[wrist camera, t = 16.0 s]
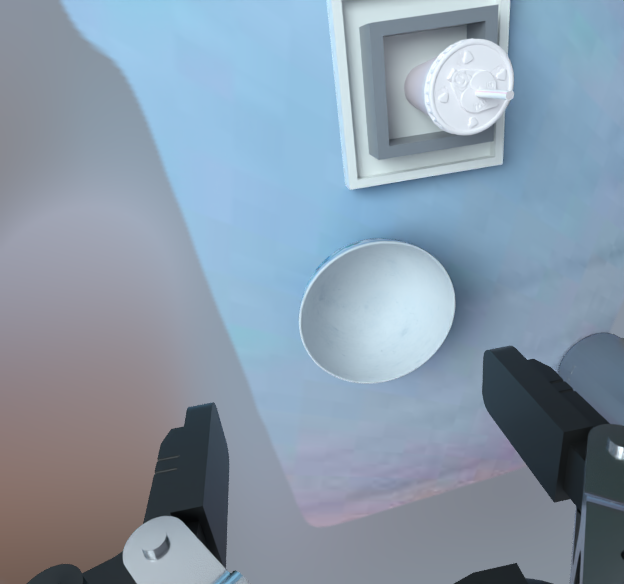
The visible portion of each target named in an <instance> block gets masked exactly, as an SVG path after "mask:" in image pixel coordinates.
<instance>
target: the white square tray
mask: <svg viewBox="0 0 624 584" xmlns="http://www.w3.org/2000/svg"><path fill="white" fill-rule="evenodd" d="M326 1H327V10H328V20H329V30H330V40H331V49H332V59H333V69H334V79H335V89H336V98H337V108H338V118H339V128H340V138H341V147H342V157H343V167H344V177H345V185H346V186H347V187H348V188H349V189H350V190H352V189H358V188H364V187H370V186H376V185H382V184H388V183H394V182H400V181H406V180H412V179H418V178H424V177H430V176H436V175H442V174H448V173H454V172H460V171H466V170H472V169H478V168H484V167H490V166H496V165H501V164H503V147H504V125H505V111H504V113H503V114H502V115H501V117H500V118H499V119H498V120H497V121H496V122H495V123H494V124H493V125H492V126H490V127H489V128H487V129H486V130H484V131H482V132H479V133H477V134H473V135H456V134H450V133H448V132H446V131H443V130H441V129H440V128H439V127H438V126H437V125H436V124H434V122H433V121H432V119H431V118H430V117H429V116H428V115H426V114H425V113H423V112H422V111H420V110H419V109H417V108H415V107H414V106H412V105H411V104H410V103H409V102H408V100H407V99H406V96H405V93H404V84H405V80H406V77H407V75H408V74H409V72H410V71H411V70H412V69H413V68H414V67H416V66H418V65H420V64H422V63H424V62H426V61H428V60H430V59H432V58H435V57H437V56H439V54H440V53H442V52H443V51H444V50H445V49H446V48H447V47H449V46H450V45H452V44H454V43H456V42H458V41H460V40H466V39H471V38H473V39H485V40H489V41H491V42H493V43H495V44H497V45H498V46H500V47H501V48H502V49H503V50H504V51H505V53H506V54H507V56H508V39H509V17H510V0H326Z"/></svg>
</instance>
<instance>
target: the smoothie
mask: <svg viewBox="0 0 624 584" xmlns="http://www.w3.org/2000/svg"><path fill="white" fill-rule="evenodd" d="M513 86H514V74H513V68H512V64H511V62H510V59H509V57H508V56H507V54H506V53H505V51H504V50H503V49H502V48H501V47H500V46H498V45H497V44H495V43H493V42H491V41H489V40H485V39H473V38H471V39H466V40H460V41H458V42H456V43H454V44H452V45H450V46H449V47H447V48H446V49H445V50H444V51H443V52H442V53H440V54H439V56H437V57H435V58H432V59H430V60H428V61H426V62H424V63H422V64H420V65H418V66H416V67H414V68H413V69H412V70H411V71H410V72H409V74H408V75H407V77H406V80H405V84H404V93H405V96H406V99H407V100H408V102H409V103H410V104H411V105H412V106H414V107H415V108H417V109H419V110H420V111H422V112H423V113H425V114H426V115H428V116H429V117H430V118H431V119H432V121H433V122H434V124H436V125H437V126H438V127H439V128H440V129H441V130H443V131H446V132H448V133H450V134H456V135H473V134H477V133H479V132H482V131H484V130H486V129H487V128H489V127H490V126H492V125H493V124H494V123H495V122H496V121H497V120H498V119H499V118H500V117H501V115H502V114H503V113H504V111H505V109H506V108H507V106H508V104H509V101H510V100H511V99H512V98H513V97H514V92H513Z"/></svg>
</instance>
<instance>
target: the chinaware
mask: <svg viewBox="0 0 624 584" xmlns="http://www.w3.org/2000/svg"><path fill="white" fill-rule="evenodd" d="M454 314H455V292H454V288H453V284H452V281H451V279H450V277H449V275H448V273H447V271H446V270H445V268H444V267H443V266H442V264H441V263H440V262H439V261H438V260H437V259H436V258H435V257H433V256H432V255H431V254H430V253H428V252H427V251H425V250H423V249H421V248H419V247H417V246H415V245H412V244H410V243H407V242H403V241H399V240H394V239H385V238H375V239H366V240H362V241H358V242H354V243H352V244H349V245H347V246H345V247H343V248H341V249H339V250H337V251H336V252H334V253H333V254H332V255H330V256H329V257H328V258H327V259H326V260H324V261H323V262H322V263H321V265H320V266H319V267H318V268H317V269H316V271H315V272H314V273H313V275H312V277H311V278H310V280H309V282H308V284H307V286H306V288H305V291H304V294H303V297H302V301H301V305H300V312H299V329H300V335H301V339H302V342H303V344H304V347H305V349H306V351H307V352H308V354H309V356H310V357H311V358H312V359H313V361H314V362H315V363H316V364H317V365H318V366H319V367H320V368H322V369H323V370H324V371H326V372H327V373H329V374H331V375H332V376H334V377H337V378H339V379H342V380H345V381H349V382H354V383H364V384H369V383H380V382H386V381H390V380H393V379H396V378H399V377H402V376H404V375H406V374H408V373H410V372H412V371H414V370H415V369H417V368H418V367H420V366H421V365H423V364H424V363H425V362H426V361H427V360H429V359H430V358H431V357H432V356H433V355H434V354H435V353H436V351H437V350H438V349H439V348H440V346H441V345H442V344H443V342H444V340H445V339H446V337H447V335H448V333H449V331H450V328H451V326H452V323H453V319H454Z"/></svg>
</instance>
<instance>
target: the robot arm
mask: <svg viewBox="0 0 624 584" xmlns="http://www.w3.org/2000/svg"><path fill="white" fill-rule="evenodd" d="M482 394H483V400H484V404H485V406H486V409H487V411H488V412H489V414H490V415H491V417H492V418H493V419H494V421H495V422H496V424H497V425H498V426H499V428H500V429H501V430H502V432H503V433H504V434H505V436H506V437H507V439H508V440H509V441H510V443H511V444H512V445H513V447H514V448H515V450H516V451H517V452H518V454H519V455H520V456H521V458H522V459H523V461H524V462H525V463H526V465H527V466H528V467H529V469H530V470H531V471H532V473H533V474H534V476H535V477H536V478H537V480H538V481H539V482H540V484H541V485H542V487H543V488H544V489H545V491H546V492H547V493H548V495H549V496H550V497H551V499H552V500H553V502H558V501H563V500H568V499H571V500H572V501H573V503H574V504H575V505H576V511H575V520H574V532H573V547H572V560H571V573H570V584H624V338H620V337H618V336H616V335H614V334H610V333H600V334H594V335H592V336H589V337H586V338H585V339H583V340H581V341H579V342H578V343H577V344H575V345H574V346H573V347H572V348H571V349H570V350H569V351H568V352H567V354H566V355H565V357H564V358H563V360H562V362H561V364H560V368H559V375H558V374H557V373H556V372H555V371H554V370H553V369H552V368H551V367H549V366H547V365H545V364H543V363H541V362H539V361H537V360H535V359H530V360H527V359H526V358H525V357H524V356H523V355H522V354H521V353H520V352H519V351H518V350H517V349H516V348H515V347H513V346H506V347H501V348H496V349H491V350H486V351H485V353H484V357H483V386H482ZM228 482H229V454H228V448H227V443H226V439H225V436H224V432H223V429H222V426H221V422H220V418H219V414H218V411H217V408H216V405H215V403H208V404H204V405H198V406H193V407H188V409H187V412H186V418H185V424H184V427H180V428H175V429H171V430H170V432H169V433H168V435H167V436H166V437H165V439H164V440H163V442H162V443H161V446H160V450H159V455H158V462H157V464H156V468H155V475H154V478H153V482H152V487H151V491H150V496H149V500H148V505H147V509H146V514H145V518H144V522H143V525H141V526H140V527H139V528H138V529H136V530H135V531H134V533H133V534H132V535H131V536H130V538H129V539H128V541H127V543H126V544H125V547H124V550H123V551H122V552H121V553H120V554H118V555H117V556H115V557H114V558H112V559H110V560H108V561H106V562H104V563H102V564H100V565H98V566H96V567H94V568H92V569H90V570H88V571H86V572H84V573H81V571H80V569H79V568H77V567H76V566H74V565H70V564H61V565H57V566H53V567H50V568H49V569H46V570H44V571H43V572H41V573H39V574H38V575H37V576H35V577H34V578H33V579H31V580H30V581H29V582H28V583H27V584H250V583H249V581H248V580H247V579H246V578H245V577H244V576H243V575H241V574H240V573H239V572H237V571H233V572H232V573H230V572H228V571H227V570H226V545H227V515H228V485H229V483H228ZM454 584H552V583H549V582H545V581H541V580H535V579H527V578H525V577H524V575H523V574H522V572H521V570H520V568H519V567H518V565H517V563H515V564H510V565H506V566H501V567H497V568H493V569H488V570H484V571H479V572H475V573H472V574H470V575H468V576H467V577H465V578H463V579H461V580H460V581H458V582H456V583H454Z"/></svg>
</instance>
